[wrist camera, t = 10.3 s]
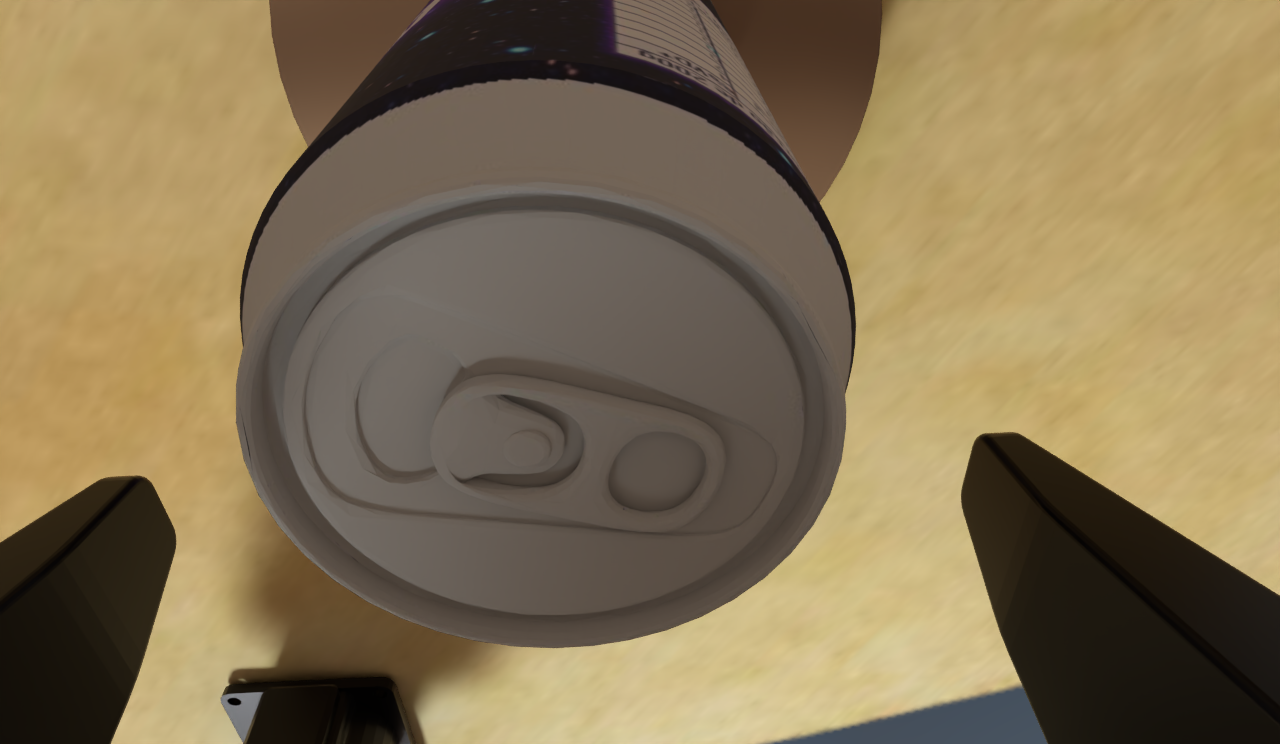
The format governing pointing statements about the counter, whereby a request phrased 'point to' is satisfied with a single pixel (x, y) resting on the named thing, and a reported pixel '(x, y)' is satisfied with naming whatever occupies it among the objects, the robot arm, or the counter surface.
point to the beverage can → (547, 328)
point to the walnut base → (746, 3)
